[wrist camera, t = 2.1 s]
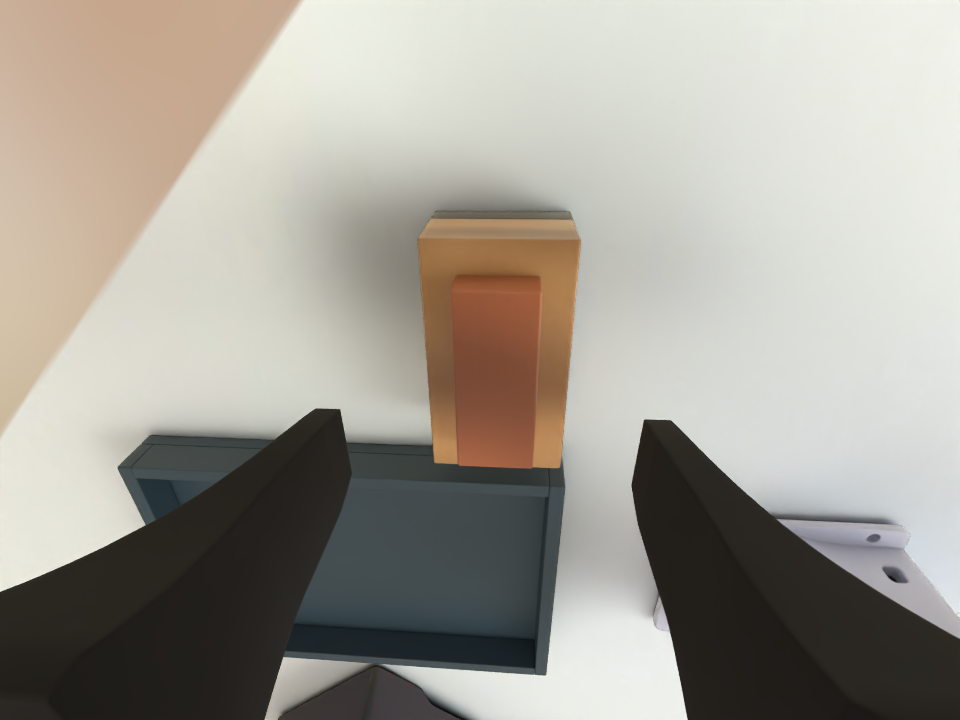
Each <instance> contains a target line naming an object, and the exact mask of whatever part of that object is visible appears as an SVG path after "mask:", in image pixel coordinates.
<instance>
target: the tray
mask: <svg viewBox="0 0 960 720" xmlns="http://www.w3.org/2000/svg"><path fill="white" fill-rule="evenodd" d="M273 441H274V440H251V439H226V438H201V437H176V436H149V437H148V438H147V439H146V440H145V441H144V442H143V443H142V445H140V446H139V447H138V448H137V449H136V450H135V451H133V452H132V453H131V454H130V455H129V456H128V457H127V458H126V459H125V460H124V461H123V462H122V463H121V464H120V465H119V466H118V470H119V472H120V474H121V476H122V478H123V480H124V482H125V484H126V486H127V488H128V490H129V492H130V494H131V496H132V498H133V500H134V502H135V504H136V506H137V508H138V510H139V512H140V514H141V516H142V518H143V520H144V522H145V524H146V525H147V524H149V523H151V522H153V521H155V520H157V519H158V518H160V517H162V516H164V515H165V514H167V513H169V512H171V511H172V510H174V509H176V508H177V507H179V506H181V505H182V504H184V503H186V502H187V501H189V500H191V499H192V498H194V497H195V496H197V495H198V494H200V493H202V492H203V491H205V490H206V489H208V488H209V487H211V486H212V485H214V484H215V483H216V482H218V481H219V480H221V479H222V478H224V477H225V476H226V475H228V474H229V473H231V472H232V471H233V470H235V469H236V468H238V467H239V466H241V465H242V464H243V463H245V462H246V461H248V460H249V459H250V458H252V457H253V456H254V455H256V454H257V453H258V452H260V451H261V450H262V449H263V448H265V447H266V446H267V445H269V444H270V443H271V442H273ZM347 449H348V454H349V459H350V465H351V470H352V476H351V479H350V483H349V487H348V490H347V494H346V497H345V501H344V504H343V507H342V510H341V513H340V515H339V518H338V520H337V523H336V525H335V527H334V529H333V532H332V534H331V536H330V539H329V541H328V543H327V546H326V548H325V550H324V552H323V555H322V557H321V559H320V562H319V564H318V566H317V568H316V571H315V573H314V575H313V577H312V580H311V582H310V584H309V586H308V589H307V591H306V593H305V596H304V598H303V601H302V603H301V606H300V608H299V611H298V613H297V616H296V619H295V622H294V625H293V628H292V631H291V634H290V638H289V641H288V644H287V647H286V650H285V653H284V656H283V657H292V658H306V659H320V660H334V661H348V662H362V663H376V664H390V665H404V666H418V667H432V668H446V669H460V670H474V671H488V672H502V673H516V674H531V675H534V674H535V675H546V672H547V662H548V652H549V642H550V632H551V622H552V612H553V603H554V593H555V583H556V573H557V563H558V553H559V543H560V534H561V524H562V514H563V504H564V494H565V481H564V471H563V463H562V453H561V464H560V468H540V467H532V468H531V469H527V468H503V467H479V466H460V465H458V464H445V463H435V462H434V453H433V447H427V446H402V445H377V444H352V443H347Z"/></svg>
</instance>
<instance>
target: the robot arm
mask: <svg viewBox="0 0 960 720" xmlns="http://www.w3.org/2000/svg"><path fill="white" fill-rule="evenodd" d="M351 476H352V470H351V465H350V459H349V454H348V449H347V443H346V438H345V433H344V427H343V422H342V417H341V411H340V409H314V410H313V411H311V412H310V413H309V414H307V415H306V416H305V417H303V418H302V419H301V420H299V421H298V422H297V423H296V424H294V425H293V426H292V427H290V428H289V429H288V430H287V431H285V432H284V433H283V434H282V435H280V436H279V437H278V438H276V439H275V440H274V441H273V442H271V443H270V444H269V445H267V446H266V447H265V448H263V449H262V450H261V451H260V452H258V453H257V454H256V455H254V456H253V457H252V458H250V459H249V460H248V461H246V462H245V463H243V464H242V465H241V466H239V467H238V468H236V469H235V470H233V471H232V472H231V473H229V474H228V475H226V476H225V477H224V478H222V479H221V480H219V481H218V482H216V483H215V484H214V485H212V486H211V487H209V488H208V489H206V490H205V491H203V492H202V493H200V494H198V495H197V496H195V497H194V498H192V499H191V500H189V501H187V502H186V503H184V504H182V505H181V506H179V507H177V508H176V509H174V510H172V511H171V512H169V513H167V514H165V515H164V516H162V517H160V518H158V519H157V520H155V521H153V522H151V523H149V524H147V525H145V526H144V527H142V528H140V529H138V530H136V531H134V532H132V533H130V534H128V535H126V536H124V537H122V538H121V539H119V540H117V541H115V542H113V543H111V544H109V545H107V546H105V547H103V548H101V549H99V550H97V551H95V552H93V553H90V554H88V555H86V556H84V557H82V558H80V559H78V560H75V561H73V562H71V563H69V564H67V565H64V566H62V567H60V568H57V569H55V570H53V571H51V572H48V573H46V574H44V575H41V576H39V577H37V578H34V579H32V580H29V581H27V582H25V583H22V584H20V585H17V586H14V587H12V588H9V589H7V590H4V591H2V592H0V720H265V716H266V712H267V709H268V705H269V702H270V699H271V695H272V692H273V689H274V685H275V682H276V679H277V675H278V672H279V669H280V666H281V662H282V659H283V656H284V653H285V650H286V647H287V644H288V641H289V638H290V634H291V631H292V628H293V625H294V622H295V619H296V616H297V613H298V611H299V608H300V606H301V603H302V601H303V598H304V596H305V593H306V591H307V589H308V586H309V584H310V582H311V580H312V577H313V575H314V573H315V571H316V568H317V566H318V564H319V562H320V559H321V557H322V555H323V552H324V550H325V548H326V546H327V543H328V541H329V539H330V536H331V534H332V532H333V529H334V527H335V525H336V523H337V520H338V518H339V515H340V513H341V510H342V507H343V504H344V501H345V497H346V494H347V490H348V487H349V483H350V479H351ZM632 492H633V498H634V504H635V510H636V516H637V521H638V526H639V529H640V533H641V536H642V540H643V543H644V546H645V550H646V553H647V556H648V560H649V563H650V566H651V569H652V573H653V576H654V579H655V582H656V586H657V589H658V592H659V598H658V602H657V605H656V609H655V613H654V617H653V622H654V626H655V627H656V628H657V629H659V630H662V631H670V633H671V637H672V642H673V647H674V651H675V656H676V661H677V666H678V671H679V676H680V681H681V686H682V691H683V697H684V702H685V707H686V713H687V718H688V720H960V618H959V617H958V616H957V615H956V613H955V612H954V611H953V610H952V609H951V607H950V606H949V605H948V604H947V602H946V601H945V600H944V599H943V597H942V596H941V595H940V594H939V592H938V591H937V590H936V589H935V587H934V586H933V585H932V584H931V582H930V581H929V580H928V579H927V578H926V576H925V575H924V574H923V573H922V571H921V570H920V569H919V568H918V566H917V565H916V564H915V563H914V561H913V560H912V559H911V558H910V556H909V555H908V554H907V553H906V552H905V550H904V548H905V546H906V545H907V543H908V541H909V540H910V537H911V536H910V533H909V532H908V531H907V530H906V529H905V528H904V527H903V526H900V525H888V524H867V523H847V522H826V521H805V520H784V519H776V518H774V517H773V516H772V515H771V514H770V513H768V512H767V511H766V510H765V509H764V508H762V507H761V506H760V505H759V504H758V503H757V502H755V501H754V500H753V499H752V498H751V497H750V496H748V495H747V494H746V493H745V492H744V491H743V490H742V489H741V488H740V487H738V486H737V485H736V484H735V483H734V482H733V481H732V480H731V479H730V478H729V477H728V476H727V475H726V474H725V473H724V472H722V471H721V470H720V469H719V468H718V467H717V466H716V465H715V464H714V463H713V462H712V461H711V460H710V459H709V458H708V457H707V456H706V455H705V454H704V453H703V452H702V451H701V450H700V449H699V448H698V447H697V446H696V445H695V444H694V443H693V442H692V441H691V440H690V439H689V438H688V437H687V436H686V435H685V434H684V433H683V432H682V431H681V430H680V429H679V428H678V427H677V426H676V425H675V424H674V423H673V422H672V421H671V420H644V423H643V428H642V433H641V438H640V444H639V449H638V454H637V459H636V464H635V470H634V475H633V480H632Z"/></svg>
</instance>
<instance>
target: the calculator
mask: <svg viewBox="0 0 960 720" xmlns="http://www.w3.org/2000/svg"><path fill="white" fill-rule="evenodd" d="M278 720H460V719H458V718H456V717H454V716H452V715H450V714H448V713H446V712H444V711H442V710H441V709H439V708H437V707H435V706H433V705H431V704H430V702H429V701H428V699H427V697H426V696H425V694H424V692H423V691H422V689H421V688H419V687H417V686H415V685H413V684H412V683H410V682H408V681H406V680H404V679H402V678H400V677H398V676H396V675H394V674H392V673H390V672H388V671H386V670H384V669H382V668H380V667H372V668H370V669H368V670H366V671H365V672H363V673H361V674H359V675H357V676H355V677H353V678H351V679H350V680H348V681H346V682H344V683H342V684H340V685H338V686H336V687H335V688H333V689H331V690H329V691H327V692H325V693H323V694H321V695H320V696H318V697H316V698H314V699H312V700H310V701H308V702H306V703H305V704H303V705H301V706H299V707H297V708H295V709H293V710H291V711H290V712H288V713H286V714H284V715H282V716H280V717H279V718H278Z"/></svg>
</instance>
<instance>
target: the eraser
mask: <svg viewBox="0 0 960 720" xmlns="http://www.w3.org/2000/svg"><path fill="white" fill-rule="evenodd" d="M580 247H581V240H580V237H579V234H578V232H577V229H576V226H575V223H574V220H573V218H572V215H571V213H570V212H514V211H436V212H435V213H434V215H433V216H432V218H431V219H430V220H429V222H428V223H427V225H426V227H425V228H424V230H423V231H422V233H421V234H420V236H419V237H418V254H419V267H420V280H421V293H422V307H423V320H424V333H425V347H426V360H427V373H428V387H429V400H430V413H431V426H432V440H433V453H434V462H435V463H445V464H458V465H460V466H479V467H503V468H527V469H531V468H532V467H540V468H560V464H561V453H562V442H563V432H564V421H565V410H566V399H567V388H568V377H569V366H570V356H571V345H572V334H573V323H574V312H575V301H576V290H577V280H578V269H579V258H580Z"/></svg>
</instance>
